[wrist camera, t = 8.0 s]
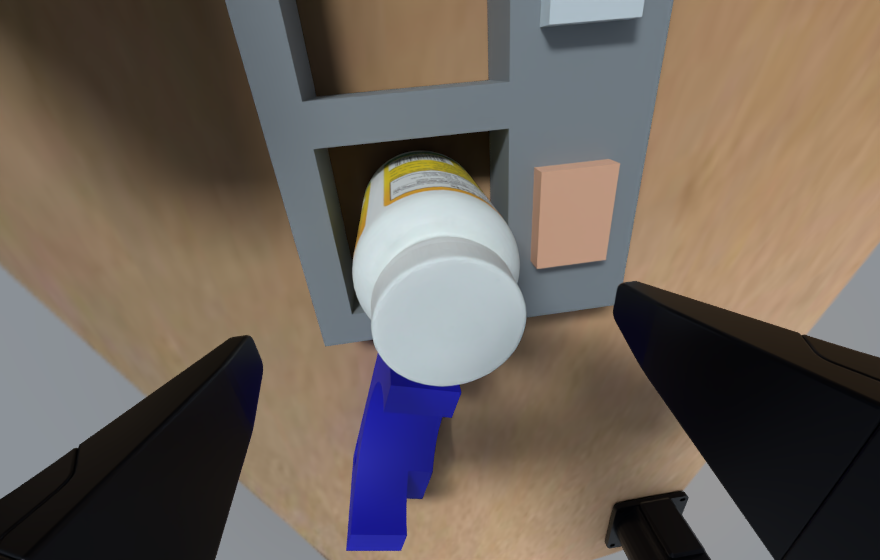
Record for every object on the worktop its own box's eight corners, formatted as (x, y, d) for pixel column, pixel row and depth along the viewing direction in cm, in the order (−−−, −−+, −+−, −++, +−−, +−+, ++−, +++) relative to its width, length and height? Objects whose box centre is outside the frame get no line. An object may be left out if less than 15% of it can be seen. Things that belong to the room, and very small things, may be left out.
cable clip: (418, 457, 27) (426, 550, 22) (353, 453, 26) (346, 550, 20) (467, 317, 22) (494, 395, 16) (388, 305, 20) (390, 385, 15)
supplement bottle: (420, 121, 16) (460, 175, 8) (499, 206, 18) (595, 318, 10) (337, 210, 17) (296, 337, 9) (420, 279, 20) (447, 431, 11)
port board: (589, 275, 21) (628, 313, 18) (332, 310, 20) (322, 357, 17) (659, -268, 12) (768, -402, 8) (184, -255, 11) (95, -401, 7)
